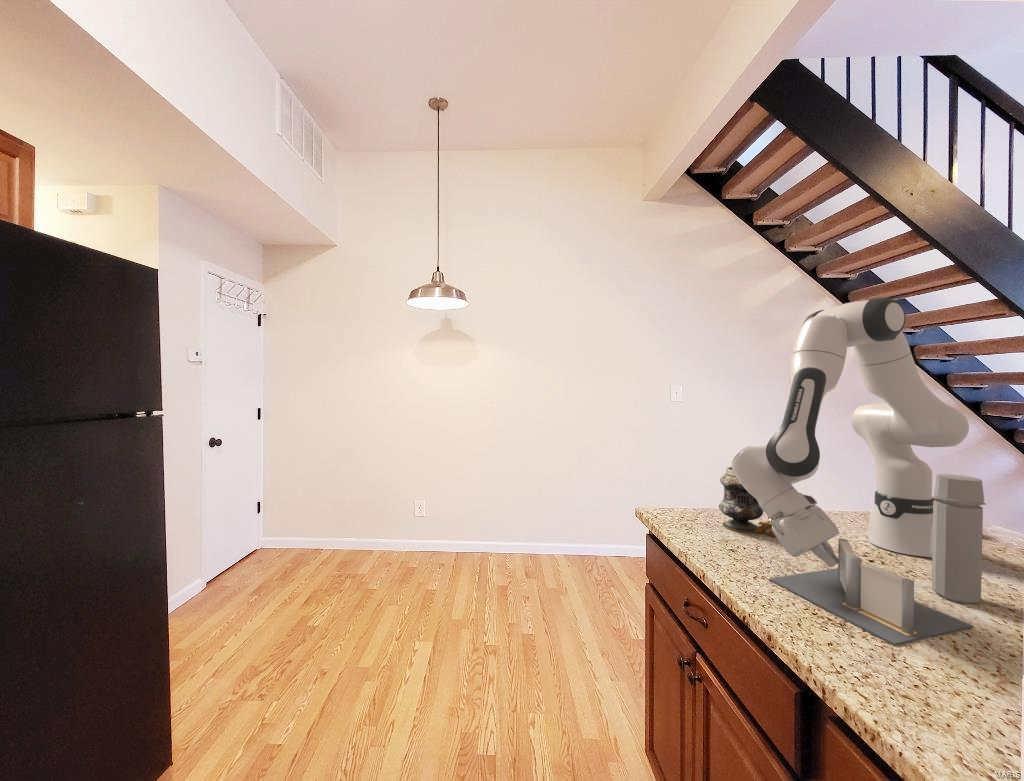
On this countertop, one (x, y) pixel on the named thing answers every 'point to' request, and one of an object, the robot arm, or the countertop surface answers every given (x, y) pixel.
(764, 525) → the decorative fence
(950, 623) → the mat
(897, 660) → the countertop surface
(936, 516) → the water bottle
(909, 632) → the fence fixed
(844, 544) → the beige rectangular panel
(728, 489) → the apothecary jar
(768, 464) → the robot arm
